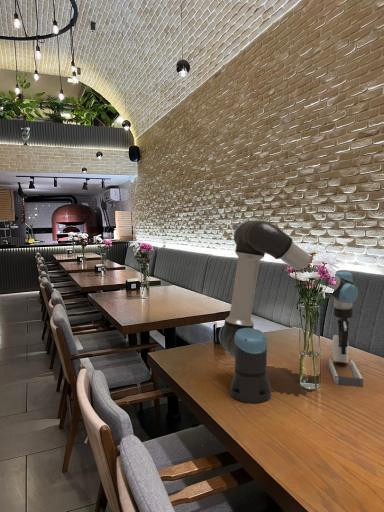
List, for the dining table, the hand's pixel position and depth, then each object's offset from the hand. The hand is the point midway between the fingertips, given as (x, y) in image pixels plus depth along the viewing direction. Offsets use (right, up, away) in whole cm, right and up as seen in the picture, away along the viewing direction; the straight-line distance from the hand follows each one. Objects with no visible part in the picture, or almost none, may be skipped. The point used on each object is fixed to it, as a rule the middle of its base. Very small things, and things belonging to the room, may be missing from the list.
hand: (343, 360), depth 166 cm
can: (0, -2, +3) cm, 4 cm away
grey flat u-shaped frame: (-3, -4, -8) cm, 10 cm away
